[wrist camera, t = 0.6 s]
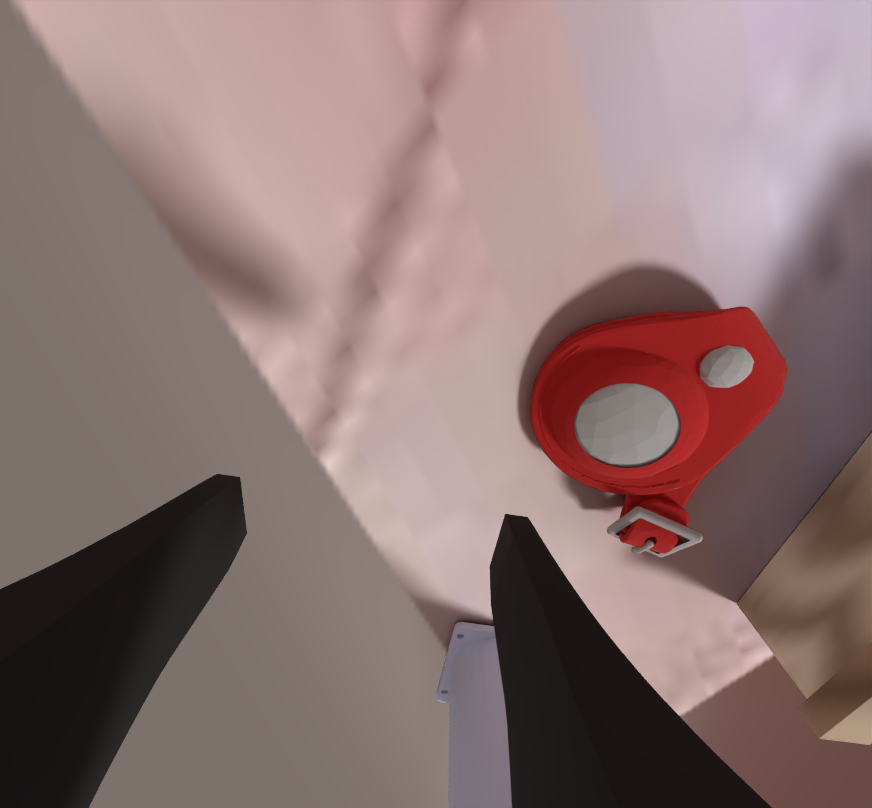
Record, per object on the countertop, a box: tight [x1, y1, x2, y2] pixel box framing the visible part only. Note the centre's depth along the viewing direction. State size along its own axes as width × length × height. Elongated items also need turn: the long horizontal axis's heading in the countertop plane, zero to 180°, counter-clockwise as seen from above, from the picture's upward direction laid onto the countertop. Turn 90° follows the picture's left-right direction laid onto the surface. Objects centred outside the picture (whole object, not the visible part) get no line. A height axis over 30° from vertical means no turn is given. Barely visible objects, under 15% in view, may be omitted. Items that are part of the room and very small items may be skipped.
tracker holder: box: [530, 307, 787, 557], centre depth 16 cm, size 12×4×10 cm
